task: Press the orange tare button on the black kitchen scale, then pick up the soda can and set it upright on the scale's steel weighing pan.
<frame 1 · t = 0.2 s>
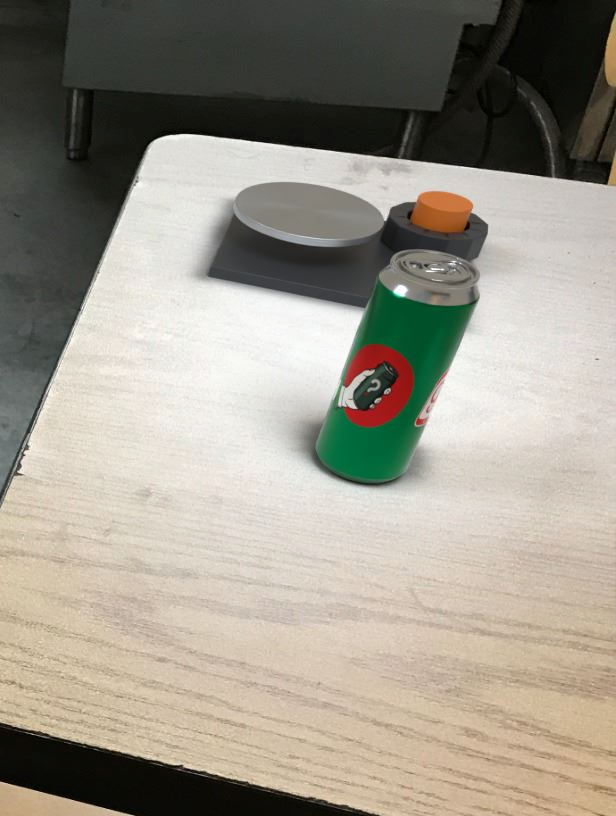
soda can: (356, 467, 78), on the table
weighing pan: (291, 264, 98), resting on scale
scale: (335, 273, 97), on the table
tare button: (441, 213, 95), point 4 cm above the table, slide at 0.1 cm
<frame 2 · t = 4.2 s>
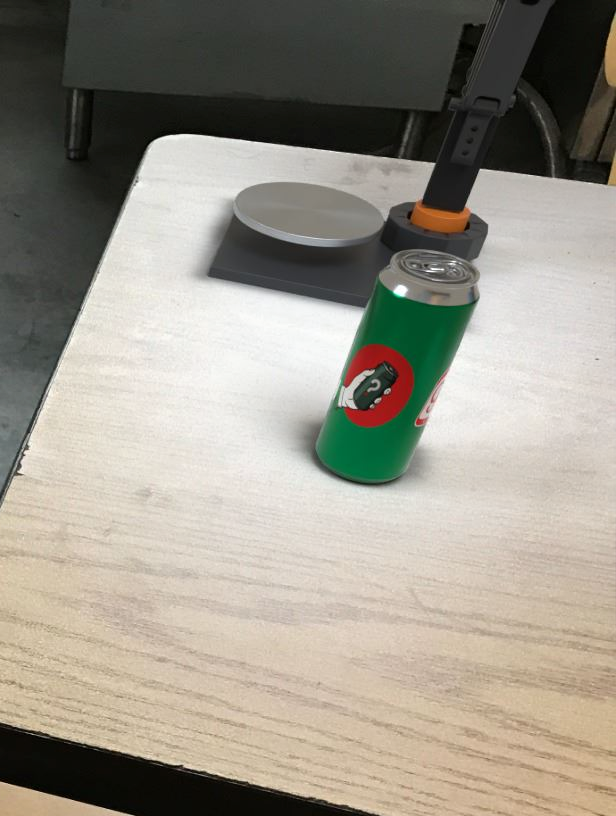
hand: (442, 203, 95), 5 cm above the table, tool pointing down, fingers closed
tare button: (438, 220, 96), point 3 cm above the table, slide at -0.4 cm, touching gripper
everything else where it was.
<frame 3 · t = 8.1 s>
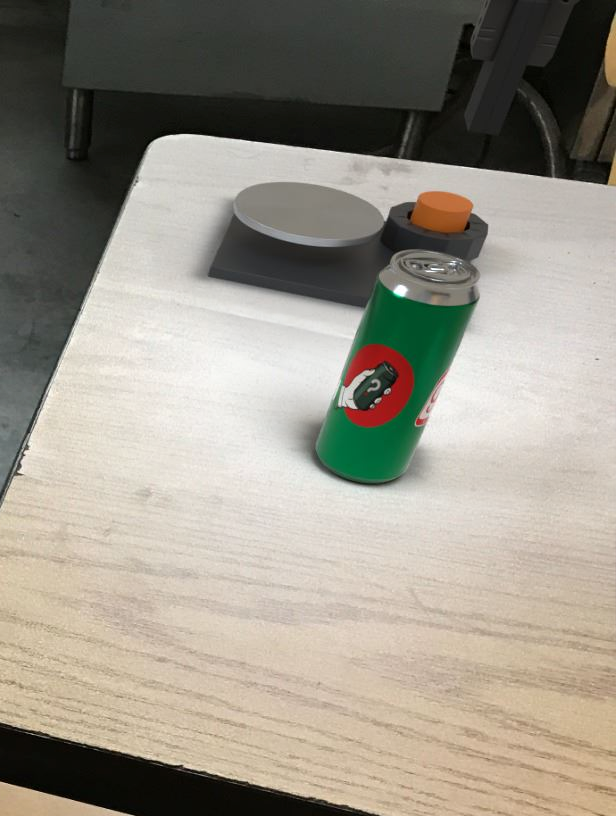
hand: (481, 124, 73), 17 cm above the table, tool pointing down, fingers closed
tare button: (441, 213, 95), point 4 cm above the table, slide at 0.1 cm
everything else where it was.
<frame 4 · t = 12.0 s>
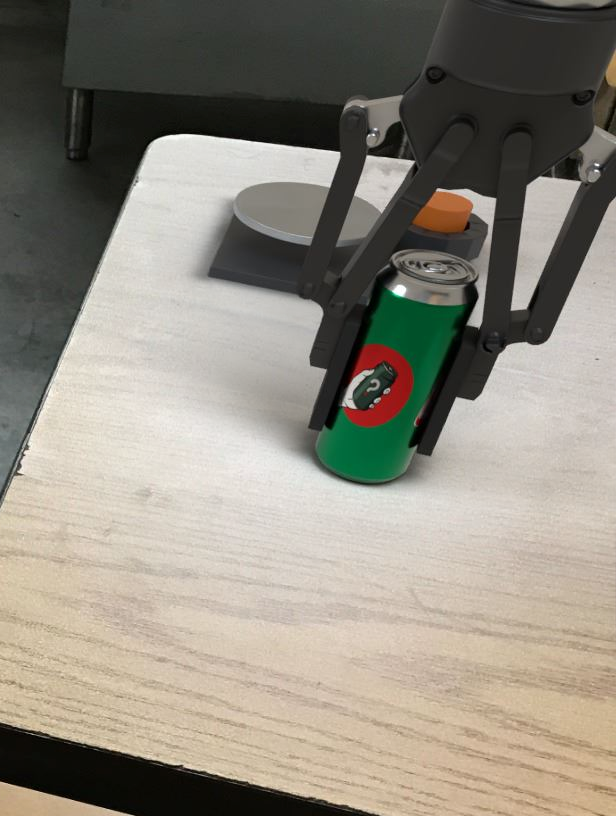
hand: (371, 430, 77), 2 cm above the table, tool pointing down, fingers closed on soda can, 5 cm apart
soda can: (356, 467, 78), on the table, touching gripper
everything else where it was.
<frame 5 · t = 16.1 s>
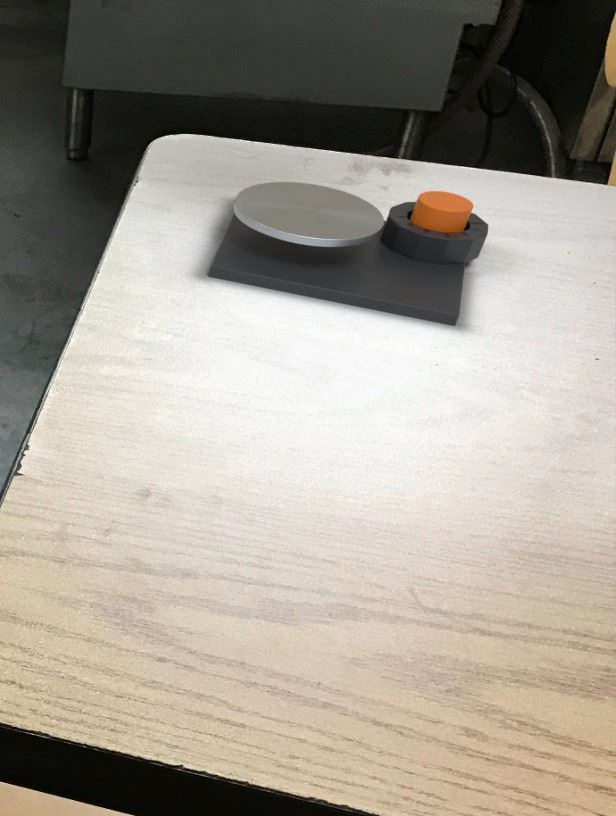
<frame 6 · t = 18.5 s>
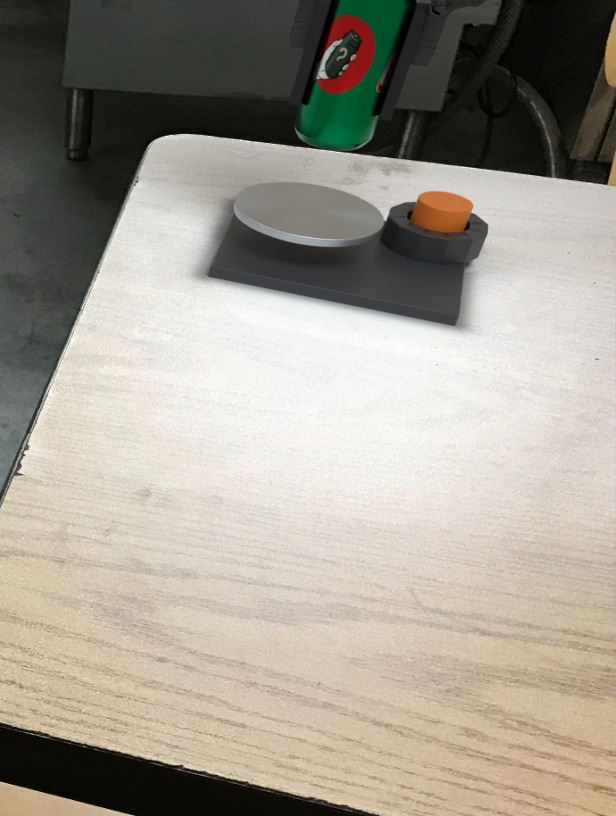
hand: (341, 105, 91), 11 cm above the table, tool pointing down, fingers closed on soda can, 5 cm apart
soda can: (329, 142, 92), point 9 cm above the table, touching gripper
everything else where it was.
when the fingers open (6 cm above the table, at t = 20.1 s): soda can stays where it is, resting on weighing pan.
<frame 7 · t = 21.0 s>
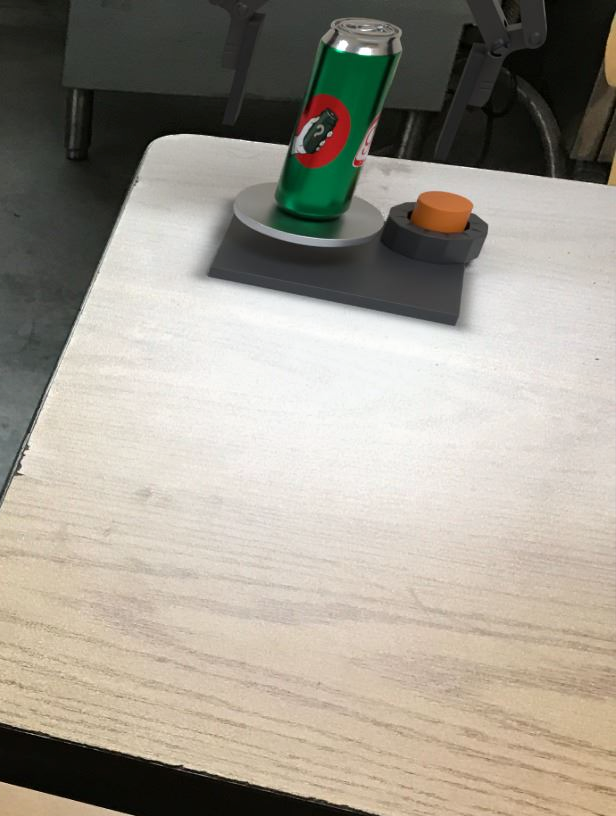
hand: (333, 136, 92), 9 cm above the table, tool pointing down, fingers open, 13 cm apart
soda can: (308, 211, 95), point 4 cm above the table, touching weighing pan
everything else where it was.
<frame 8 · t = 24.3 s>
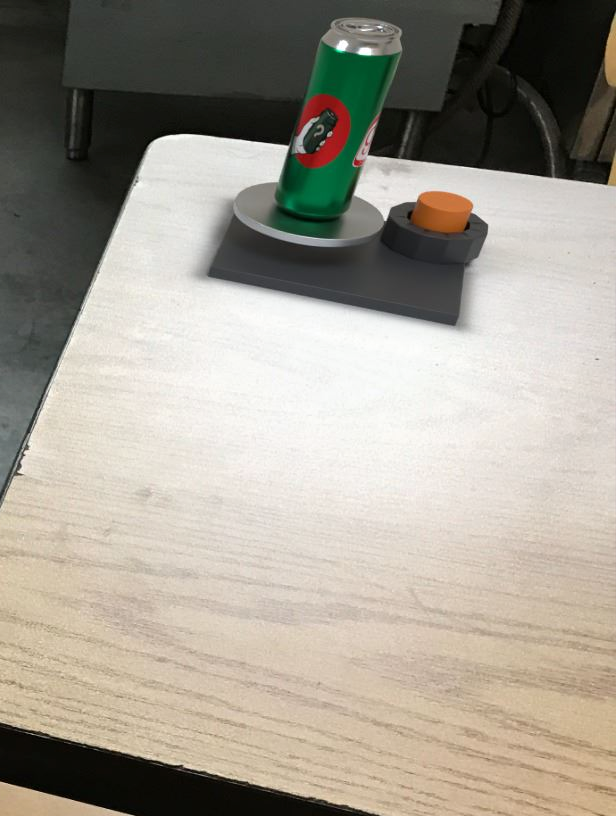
nothing on the table moved.
at the end: tare button pushed in 1.0 cm at the most during the clip, back to where it started at the end; soda can 0.0 cm off-centre on the weighing pan, point 3.9 cm above the weighing pan's base; soda can tilted 0° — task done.
